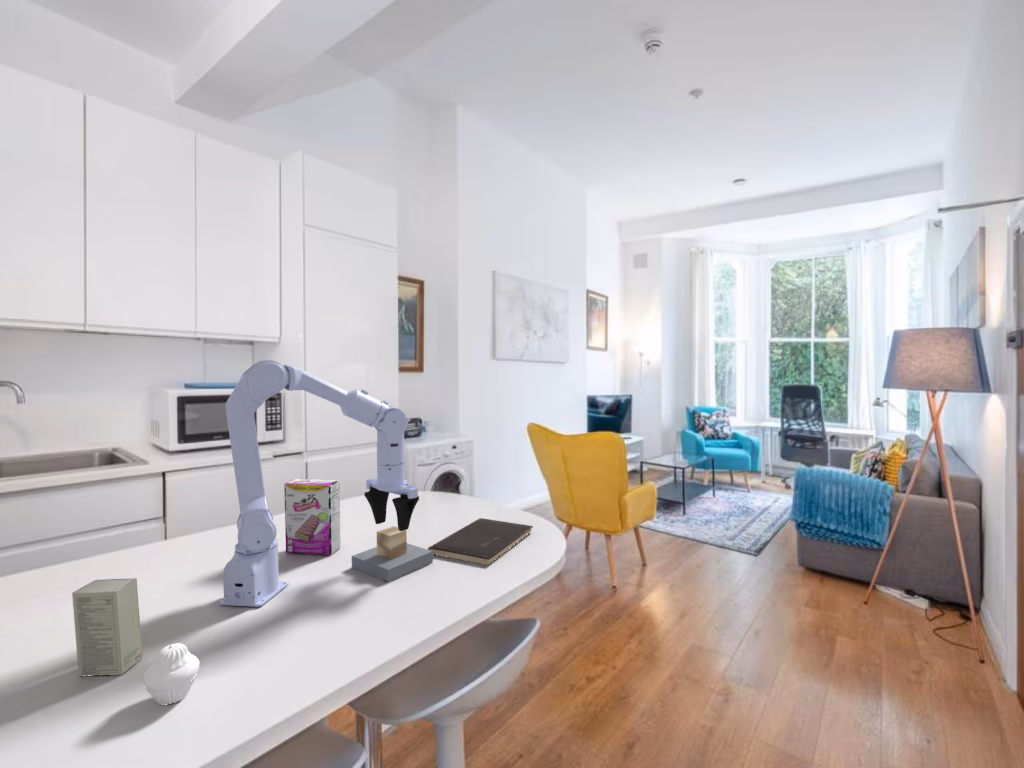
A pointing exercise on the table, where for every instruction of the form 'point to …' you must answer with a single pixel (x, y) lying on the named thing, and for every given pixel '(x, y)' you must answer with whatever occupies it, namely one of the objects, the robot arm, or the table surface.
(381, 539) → the oak block
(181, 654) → the muffin
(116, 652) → the skincare box
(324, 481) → the candy bar box
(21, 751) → the table surface
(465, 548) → the hardcover book
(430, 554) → the slate base
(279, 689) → the table surface
